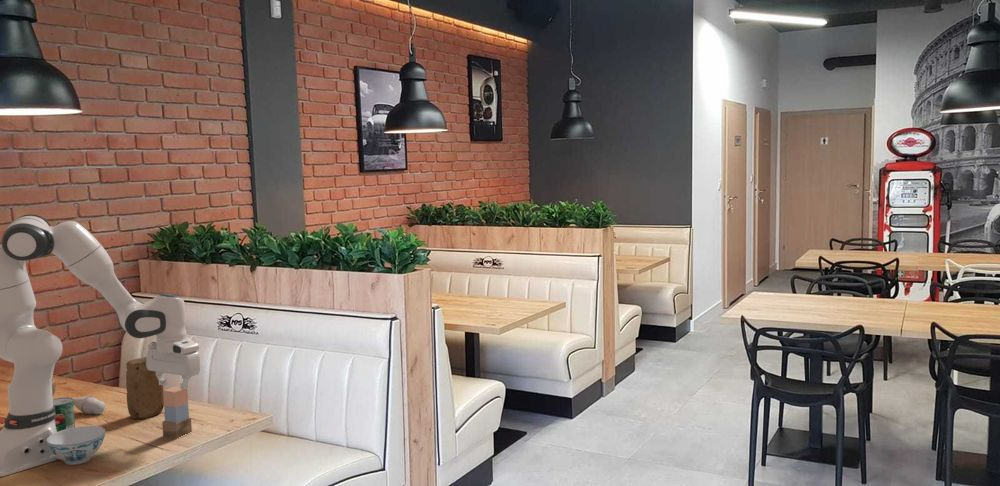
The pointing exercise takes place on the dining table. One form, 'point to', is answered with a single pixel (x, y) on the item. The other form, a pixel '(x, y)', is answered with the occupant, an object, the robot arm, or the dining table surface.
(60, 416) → the canned tomato
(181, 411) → the tower mid
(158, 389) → the brown oval lump
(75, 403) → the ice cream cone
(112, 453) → the dining table surface
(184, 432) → the tower base
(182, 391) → the cube
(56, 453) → the chinaware
